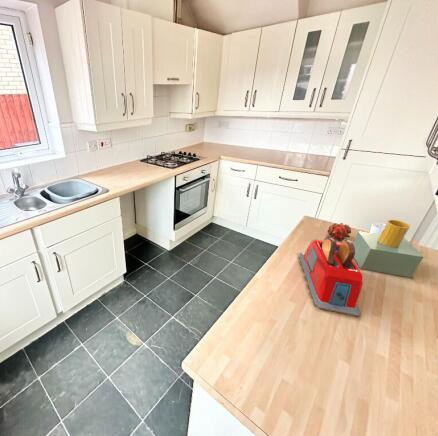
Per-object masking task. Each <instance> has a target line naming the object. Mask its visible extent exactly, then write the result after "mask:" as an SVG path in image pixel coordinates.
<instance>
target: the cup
mask: <svg viewBox="0 0 438 436" xmlns="http://www.w3.org/2000/svg"><path fill="white" fill-rule="evenodd" d="M385 224H386V225H385V227H384V228H383V230H382V232H381V234H380V236H379V238H378V242H379V243H381V244H383V245H385V246H388V247H399V245H400V243H401V242H402V240H403V238H405V236H407V233H408V231H409V230H410V228H411V225H410V224H409V223H407V222H404V221H402V220H397V219H388V220H386V223H385Z"/></svg>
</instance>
